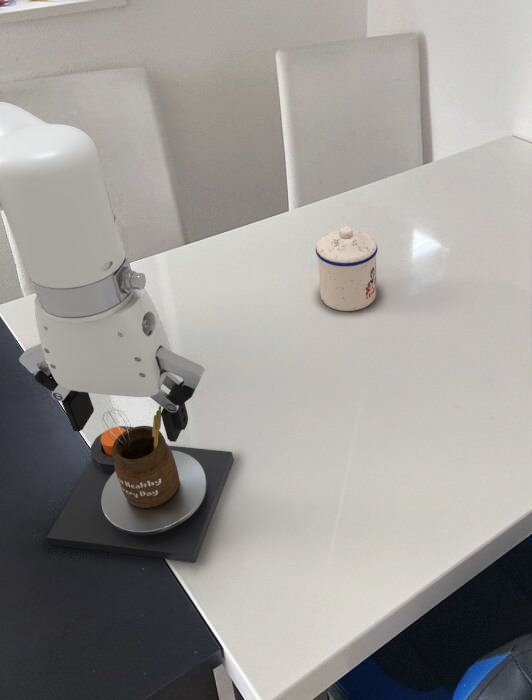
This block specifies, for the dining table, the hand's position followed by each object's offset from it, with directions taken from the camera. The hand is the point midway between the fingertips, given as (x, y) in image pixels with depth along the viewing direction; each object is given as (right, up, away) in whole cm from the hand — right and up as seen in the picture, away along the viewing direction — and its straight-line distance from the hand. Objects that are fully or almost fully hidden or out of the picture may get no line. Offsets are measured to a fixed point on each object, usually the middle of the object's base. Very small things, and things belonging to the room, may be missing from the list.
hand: (130, 426), depth 67 cm
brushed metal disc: (+1, -8, +6) cm, 10 cm away
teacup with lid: (+21, +17, +40) cm, 48 cm away
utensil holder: (+1, -7, +6) cm, 10 cm away
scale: (-1, -9, +9) cm, 13 cm away
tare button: (-5, -4, +12) cm, 14 cm away
